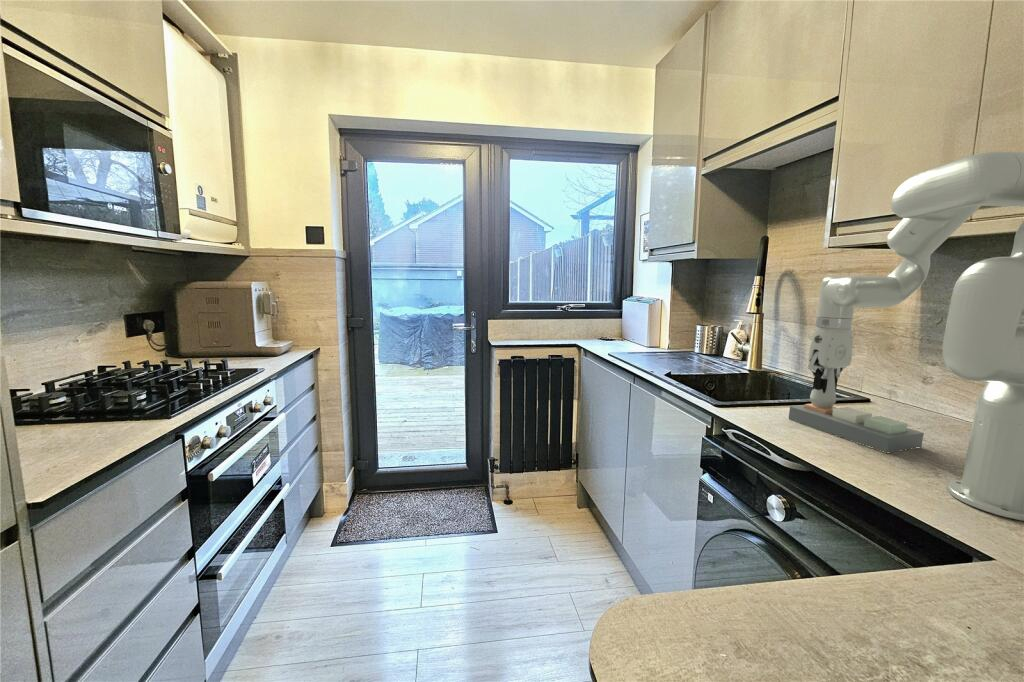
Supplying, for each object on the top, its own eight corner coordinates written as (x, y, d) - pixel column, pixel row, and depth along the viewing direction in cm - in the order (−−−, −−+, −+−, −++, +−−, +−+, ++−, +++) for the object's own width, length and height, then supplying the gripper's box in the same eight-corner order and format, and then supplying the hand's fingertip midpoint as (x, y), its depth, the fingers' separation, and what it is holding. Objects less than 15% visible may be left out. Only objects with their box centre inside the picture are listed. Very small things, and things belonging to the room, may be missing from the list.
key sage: (905, 438, 100) (907, 423, 99) (888, 440, 98) (891, 425, 98) (878, 429, 105) (880, 415, 105) (862, 432, 104) (864, 417, 103)
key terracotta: (838, 421, 114) (840, 408, 114) (823, 423, 112) (825, 410, 112) (817, 415, 119) (819, 402, 119) (803, 416, 118) (804, 404, 117)
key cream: (869, 427, 107) (871, 413, 106) (854, 429, 105) (856, 415, 105) (846, 420, 112) (848, 406, 112) (831, 422, 111) (833, 408, 110)
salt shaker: (834, 411, 112) (841, 362, 110) (808, 406, 115) (814, 359, 113) (835, 405, 116) (841, 359, 114) (809, 401, 120) (815, 356, 118)
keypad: (921, 447, 100) (923, 433, 99) (886, 453, 96) (889, 438, 95) (819, 415, 122) (821, 403, 122) (788, 418, 118) (790, 406, 118)
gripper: (825, 326, 106) (815, 398, 109) (870, 325, 111) (860, 393, 114) (796, 323, 113) (788, 390, 116) (840, 321, 118) (831, 386, 121)
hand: (824, 391), depth 115 cm, fingers closed on salt shaker, 3 cm apart
